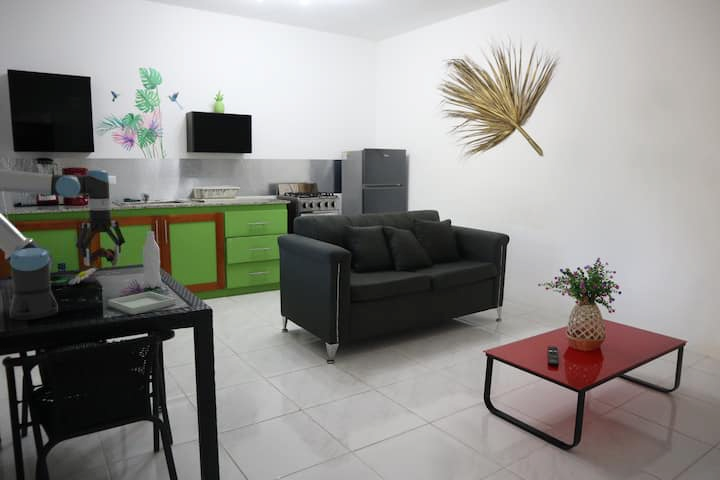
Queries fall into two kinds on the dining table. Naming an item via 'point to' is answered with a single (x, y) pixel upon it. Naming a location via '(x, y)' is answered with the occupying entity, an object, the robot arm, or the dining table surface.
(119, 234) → the robot arm
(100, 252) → the broken clay pot
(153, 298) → the tray
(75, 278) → the decorative flower
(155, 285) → the water bottle
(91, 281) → the dining table surface
